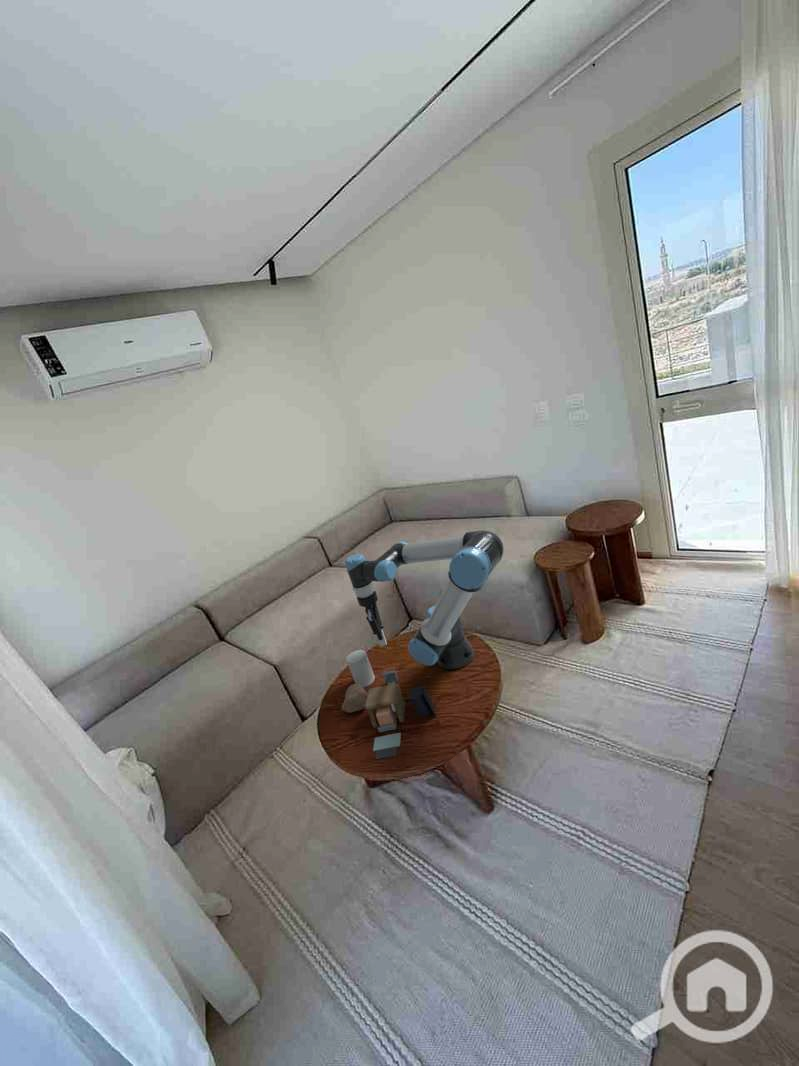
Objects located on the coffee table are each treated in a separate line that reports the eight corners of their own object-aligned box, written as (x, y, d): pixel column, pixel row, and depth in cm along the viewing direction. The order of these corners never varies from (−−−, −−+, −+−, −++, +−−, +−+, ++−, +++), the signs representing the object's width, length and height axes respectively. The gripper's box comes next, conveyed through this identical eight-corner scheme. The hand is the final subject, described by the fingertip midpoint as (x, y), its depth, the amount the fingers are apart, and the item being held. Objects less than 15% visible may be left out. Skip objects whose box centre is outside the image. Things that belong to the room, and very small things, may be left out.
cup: (372, 686, 174) (362, 661, 170) (353, 688, 176) (343, 663, 172) (376, 672, 181) (368, 648, 178) (358, 675, 183) (349, 651, 180)
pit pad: (397, 747, 140) (396, 747, 140) (396, 755, 137) (396, 755, 137) (376, 751, 141) (376, 751, 141) (375, 759, 138) (375, 759, 138)
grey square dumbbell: (399, 678, 172) (396, 669, 171) (396, 728, 147) (392, 718, 146) (385, 681, 173) (381, 672, 172) (379, 732, 148) (375, 721, 147)
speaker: (439, 703, 153) (428, 681, 150) (436, 716, 148) (424, 693, 145) (420, 705, 156) (409, 683, 153) (416, 718, 151) (404, 695, 148)
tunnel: (405, 703, 159) (397, 682, 156) (404, 721, 150) (396, 700, 148) (376, 709, 160) (368, 689, 157) (373, 727, 152) (365, 706, 149)
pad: (400, 733, 146) (400, 732, 146) (400, 746, 141) (399, 745, 140) (375, 738, 147) (374, 737, 147) (373, 751, 142) (373, 750, 142)
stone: (368, 718, 160) (373, 691, 160) (344, 717, 157) (348, 690, 157) (360, 703, 172) (364, 678, 172) (337, 703, 169) (341, 677, 169)
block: (394, 714, 153) (390, 703, 151) (393, 725, 148) (389, 713, 146) (381, 717, 153) (377, 705, 152) (380, 727, 148) (376, 716, 147)
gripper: (358, 587, 174) (376, 637, 181) (354, 603, 162) (372, 656, 169) (376, 583, 173) (393, 633, 180) (373, 599, 161) (391, 652, 168)
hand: (383, 644), depth 175 cm, fingers closed
